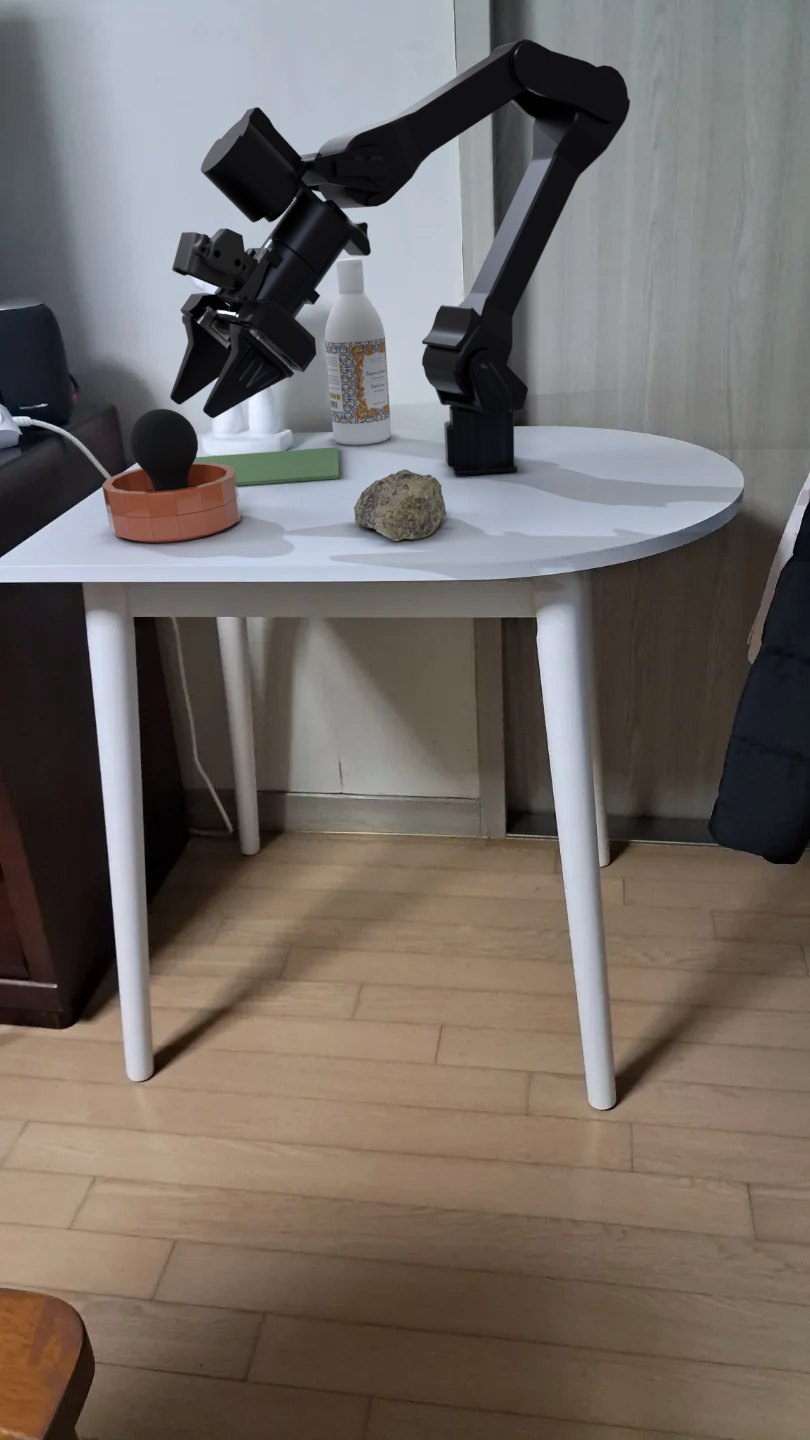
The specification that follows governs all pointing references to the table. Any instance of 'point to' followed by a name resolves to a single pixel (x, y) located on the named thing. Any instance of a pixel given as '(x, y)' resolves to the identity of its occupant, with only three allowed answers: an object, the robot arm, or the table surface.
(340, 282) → the bath foam
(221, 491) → the pot
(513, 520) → the table surface
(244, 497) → the table surface
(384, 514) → the rock
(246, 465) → the mat
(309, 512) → the table surface
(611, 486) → the table surface
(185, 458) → the light bulb
